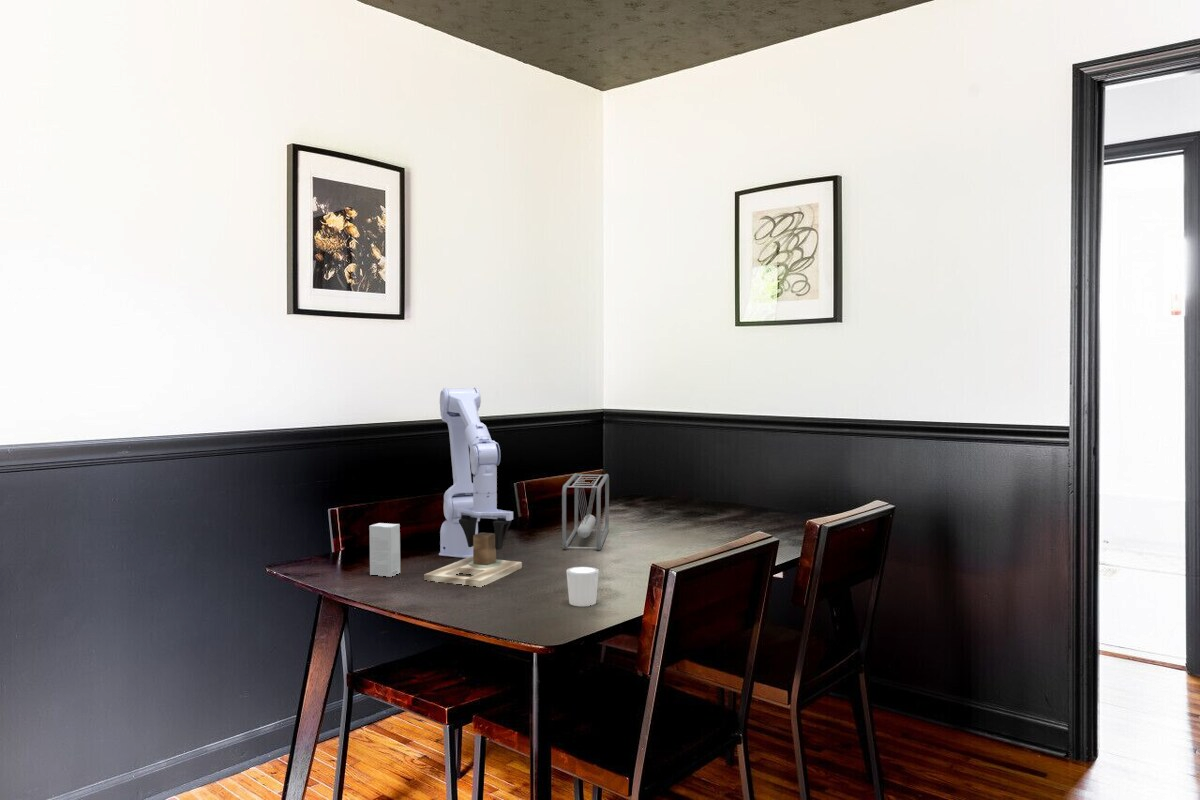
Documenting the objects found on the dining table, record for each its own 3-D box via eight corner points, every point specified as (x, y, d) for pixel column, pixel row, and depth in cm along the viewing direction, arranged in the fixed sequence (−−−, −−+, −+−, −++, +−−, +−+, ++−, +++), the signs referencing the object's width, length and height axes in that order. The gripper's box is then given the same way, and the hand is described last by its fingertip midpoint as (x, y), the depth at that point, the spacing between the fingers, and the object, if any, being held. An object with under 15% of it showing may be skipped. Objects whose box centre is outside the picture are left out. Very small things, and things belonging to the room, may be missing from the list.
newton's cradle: (574, 530, 259) (574, 472, 259) (608, 530, 258) (609, 472, 258) (561, 551, 230) (561, 485, 229) (600, 552, 229) (600, 486, 228)
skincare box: (401, 573, 204) (400, 523, 203) (391, 577, 200) (390, 527, 199) (379, 571, 206) (378, 522, 205) (368, 575, 202) (368, 525, 201)
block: (473, 563, 207) (473, 535, 206) (481, 560, 210) (481, 532, 210) (487, 565, 205) (487, 536, 205) (495, 562, 209) (495, 533, 209)
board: (424, 580, 197) (424, 573, 197) (469, 562, 215) (469, 556, 215) (480, 587, 191) (480, 579, 191) (521, 568, 210) (521, 561, 210)
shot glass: (565, 598, 182) (565, 566, 182) (597, 597, 183) (597, 565, 183) (567, 607, 175) (567, 574, 175) (600, 606, 176) (600, 573, 176)
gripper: (450, 492, 206) (450, 548, 207) (503, 496, 201) (503, 553, 201) (465, 488, 213) (465, 542, 213) (517, 492, 207) (517, 547, 208)
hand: (485, 547), depth 208 cm, fingers open, 7 cm apart
